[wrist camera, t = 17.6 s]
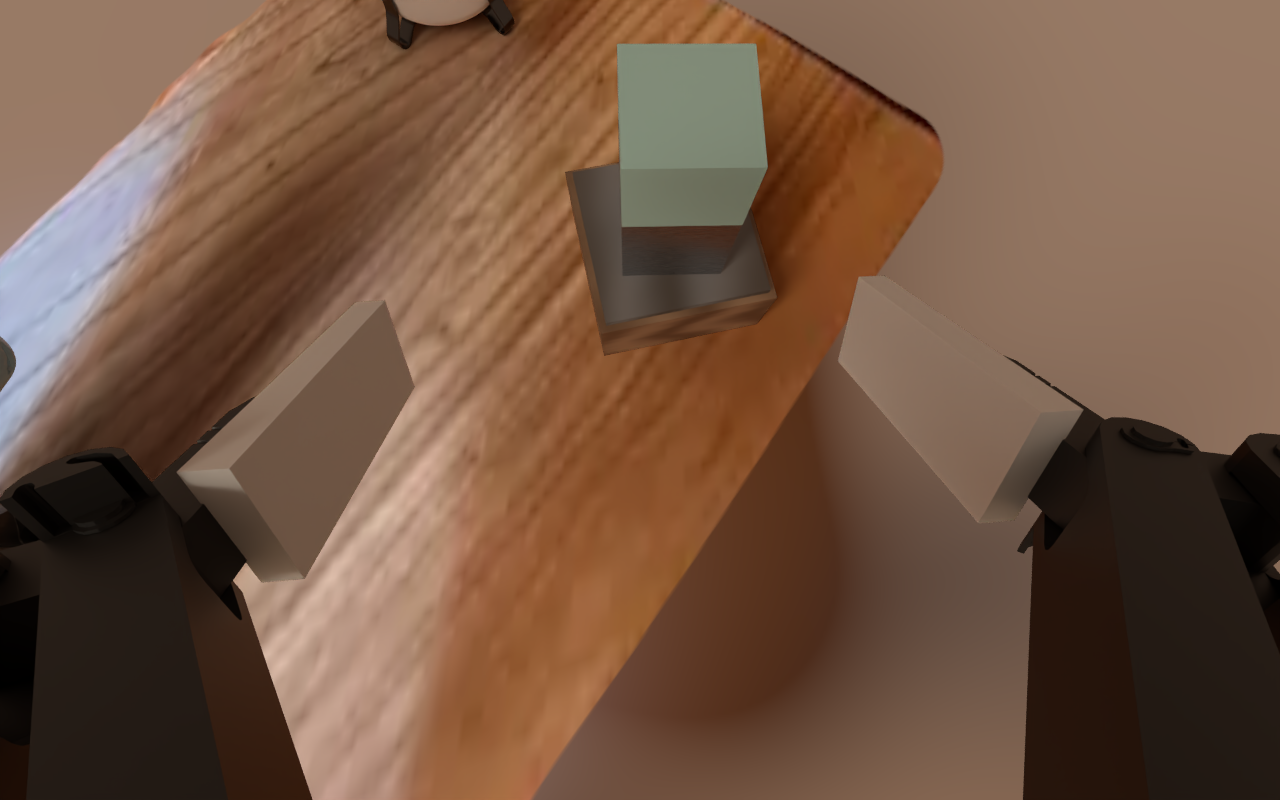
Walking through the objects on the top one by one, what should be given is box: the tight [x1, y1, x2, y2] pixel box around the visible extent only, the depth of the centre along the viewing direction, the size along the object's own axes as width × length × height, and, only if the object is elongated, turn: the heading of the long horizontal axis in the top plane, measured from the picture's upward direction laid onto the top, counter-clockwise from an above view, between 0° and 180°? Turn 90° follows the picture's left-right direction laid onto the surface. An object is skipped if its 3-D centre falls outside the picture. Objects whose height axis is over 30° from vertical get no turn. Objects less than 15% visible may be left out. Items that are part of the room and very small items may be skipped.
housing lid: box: [617, 44, 768, 227], centre depth 26 cm, size 7×9×5 cm
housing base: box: [618, 120, 742, 276], centre depth 31 cm, size 7×7×6 cm
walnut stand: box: [565, 162, 777, 356], centre depth 37 cm, size 13×13×6 cm
